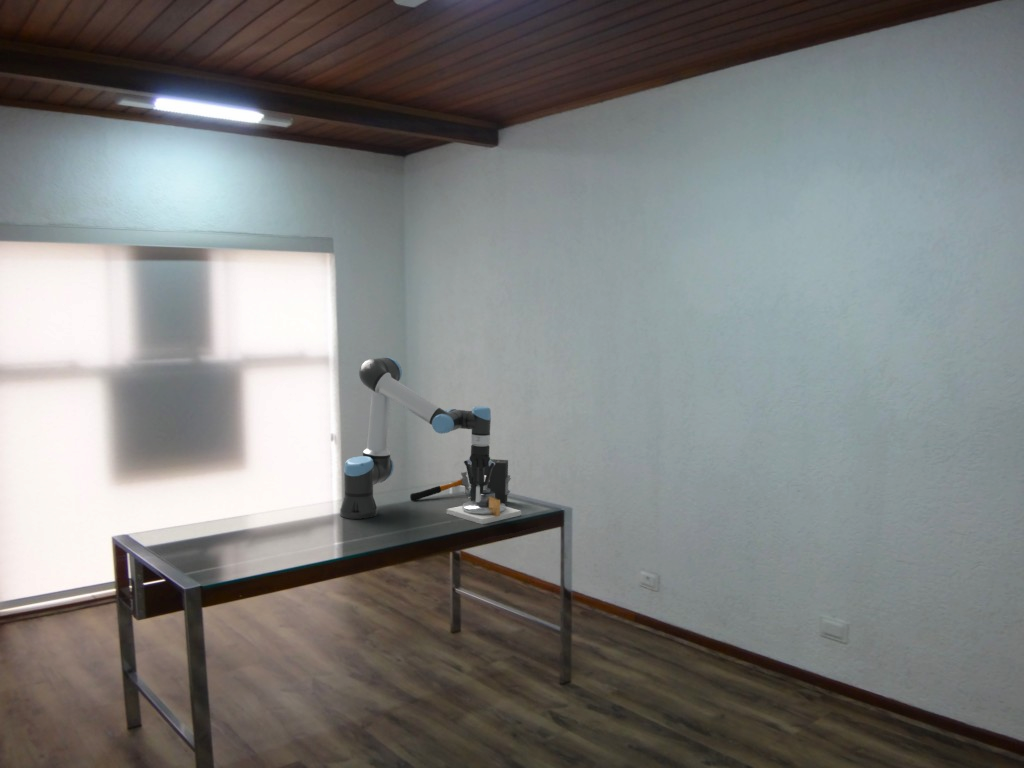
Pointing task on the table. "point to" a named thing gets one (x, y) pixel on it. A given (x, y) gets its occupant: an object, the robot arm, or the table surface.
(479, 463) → the robot arm
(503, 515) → the turntable base
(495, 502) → the turntable
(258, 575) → the table surface
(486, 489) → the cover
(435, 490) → the hammer
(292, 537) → the table surface
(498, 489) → the router
